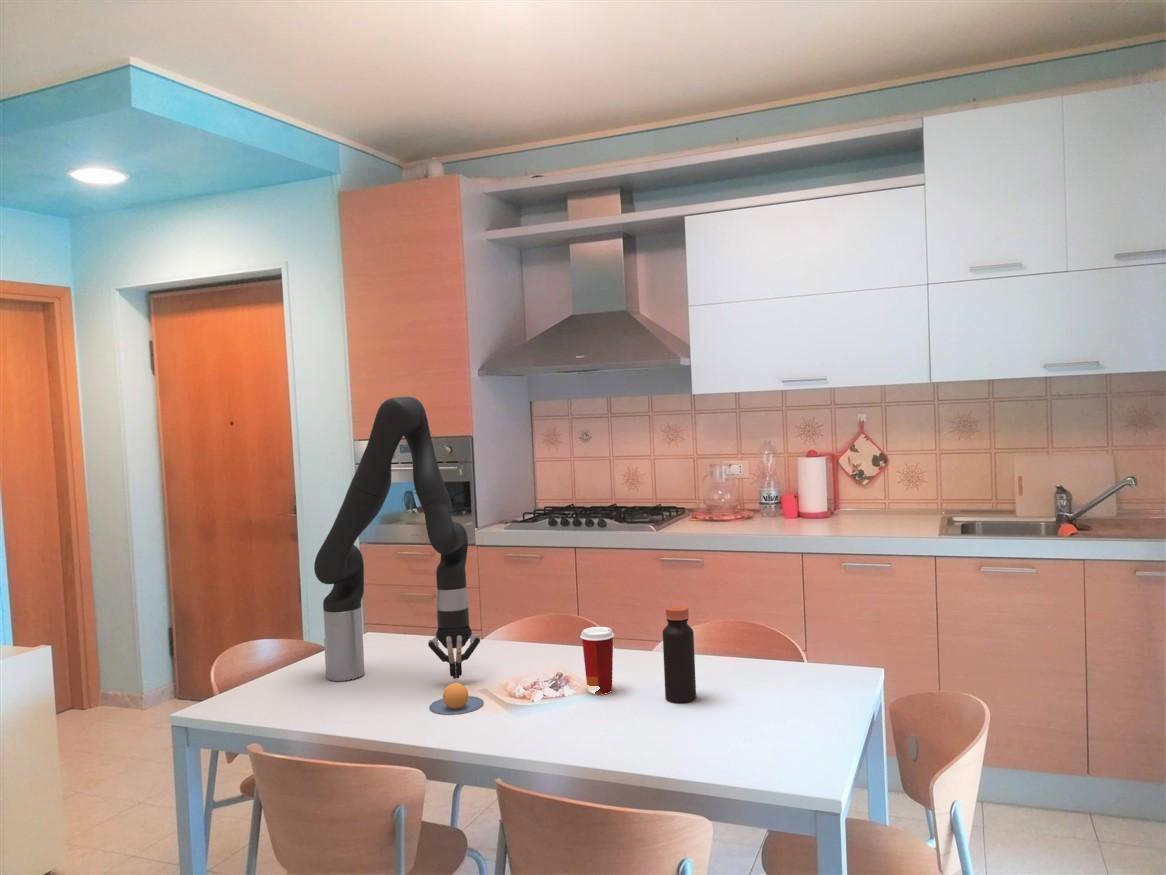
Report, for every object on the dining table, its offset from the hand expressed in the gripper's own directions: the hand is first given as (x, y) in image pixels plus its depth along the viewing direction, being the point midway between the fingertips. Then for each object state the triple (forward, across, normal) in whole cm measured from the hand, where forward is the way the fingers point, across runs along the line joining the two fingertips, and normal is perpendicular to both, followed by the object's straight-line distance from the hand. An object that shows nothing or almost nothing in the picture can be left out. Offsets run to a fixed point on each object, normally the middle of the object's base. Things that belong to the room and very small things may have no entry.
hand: (456, 677), depth 207 cm
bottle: (+2, -49, +25) cm, 55 cm away
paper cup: (+2, -32, +15) cm, 36 cm away
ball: (-1, 0, +18) cm, 18 cm away
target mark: (+2, 0, +16) cm, 16 cm away
